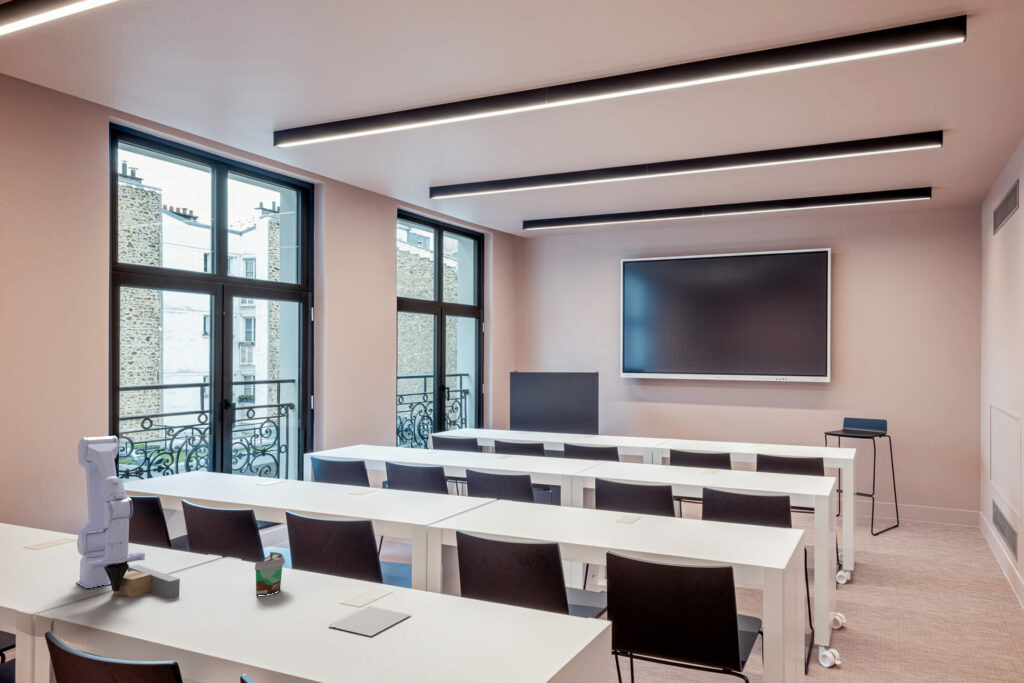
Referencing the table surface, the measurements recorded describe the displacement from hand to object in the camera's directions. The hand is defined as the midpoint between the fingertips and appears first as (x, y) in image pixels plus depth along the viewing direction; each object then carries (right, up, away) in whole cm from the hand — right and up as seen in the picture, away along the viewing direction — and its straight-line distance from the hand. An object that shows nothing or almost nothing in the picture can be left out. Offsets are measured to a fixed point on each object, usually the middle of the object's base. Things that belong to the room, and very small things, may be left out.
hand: (115, 590), depth 198 cm
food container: (+43, -3, +6) cm, 43 cm away
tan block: (+2, -2, +4) cm, 5 cm away
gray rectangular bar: (+7, -3, +7) cm, 10 cm away
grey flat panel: (+74, -3, -12) cm, 75 cm away
